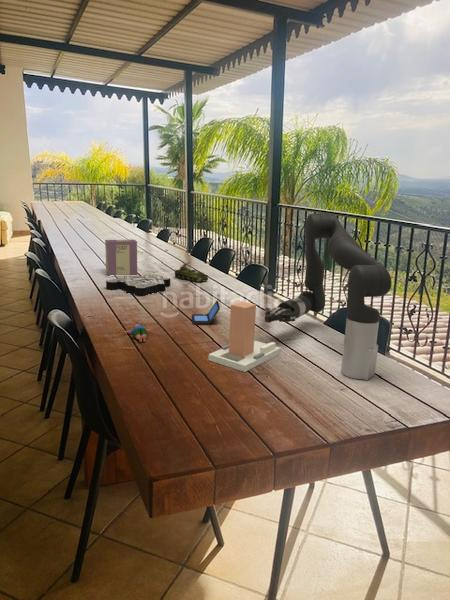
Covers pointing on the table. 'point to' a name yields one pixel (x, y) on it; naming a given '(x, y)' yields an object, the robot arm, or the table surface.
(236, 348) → the block
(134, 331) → the toy character
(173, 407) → the table surface
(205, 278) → the toy vehicle
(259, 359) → the white stand base
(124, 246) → the box
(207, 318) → the object
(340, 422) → the table surface
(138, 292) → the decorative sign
